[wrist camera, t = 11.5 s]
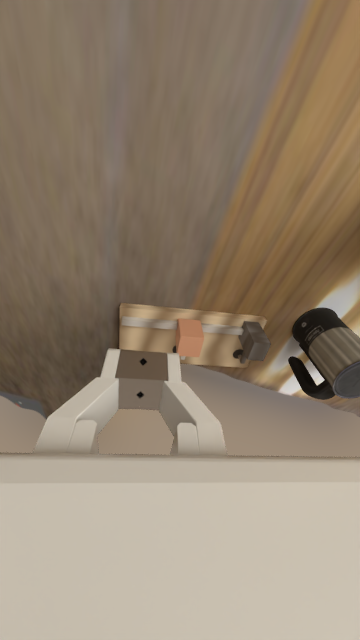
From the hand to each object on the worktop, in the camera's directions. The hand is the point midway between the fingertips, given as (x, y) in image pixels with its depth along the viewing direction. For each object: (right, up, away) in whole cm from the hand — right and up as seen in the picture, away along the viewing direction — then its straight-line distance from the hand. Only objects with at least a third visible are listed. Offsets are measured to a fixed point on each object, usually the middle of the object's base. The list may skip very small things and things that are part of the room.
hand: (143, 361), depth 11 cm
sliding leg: (+3, -1, +37) cm, 37 cm away
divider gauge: (+4, -2, +40) cm, 40 cm away
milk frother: (+32, -2, +42) cm, 53 cm away
